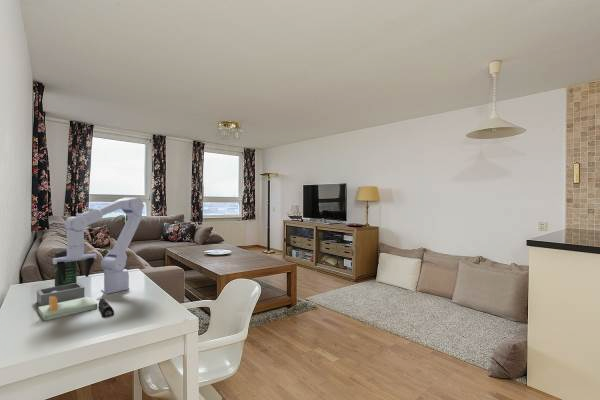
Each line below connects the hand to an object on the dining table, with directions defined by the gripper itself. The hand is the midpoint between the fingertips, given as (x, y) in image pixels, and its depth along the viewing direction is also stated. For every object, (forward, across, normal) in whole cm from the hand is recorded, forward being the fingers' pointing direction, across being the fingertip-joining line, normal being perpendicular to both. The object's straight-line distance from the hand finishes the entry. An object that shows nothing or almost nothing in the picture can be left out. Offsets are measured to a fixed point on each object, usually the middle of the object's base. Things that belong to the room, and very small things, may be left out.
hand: (75, 278), depth 124 cm
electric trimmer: (+10, -5, +21) cm, 23 cm away
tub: (+9, +4, -5) cm, 11 cm away
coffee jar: (+10, -1, -24) cm, 26 cm away
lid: (+9, +4, +10) cm, 14 cm away
